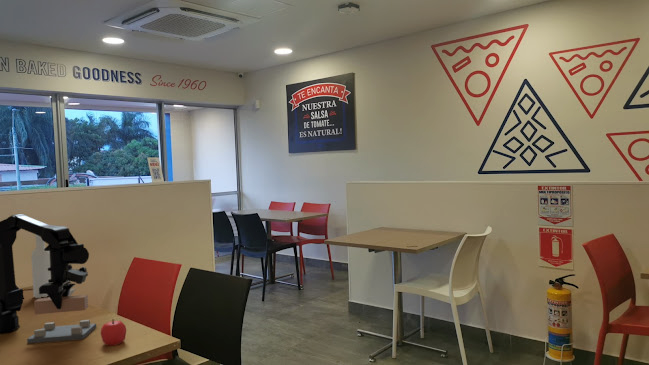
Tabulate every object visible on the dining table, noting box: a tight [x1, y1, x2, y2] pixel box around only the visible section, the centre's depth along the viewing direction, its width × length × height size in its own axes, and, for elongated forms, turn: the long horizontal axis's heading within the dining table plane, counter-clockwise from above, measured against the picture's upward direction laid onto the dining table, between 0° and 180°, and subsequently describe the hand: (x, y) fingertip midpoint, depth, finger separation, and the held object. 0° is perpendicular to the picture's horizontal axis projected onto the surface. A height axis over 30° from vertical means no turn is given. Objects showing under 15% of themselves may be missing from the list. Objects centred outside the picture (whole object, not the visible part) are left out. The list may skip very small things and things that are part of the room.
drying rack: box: [26, 319, 97, 344], centre depth 165 cm, size 18×12×4 cm, turn 97°
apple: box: [100, 318, 127, 346], centre depth 155 cm, size 8×8×8 cm
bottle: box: [31, 234, 51, 299], centre depth 220 cm, size 8×8×30 cm
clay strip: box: [33, 294, 89, 315], centre depth 165 cm, size 16×4×4 cm, turn 102°
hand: (61, 307), depth 165 cm, fingers closed on clay strip, 4 cm apart
